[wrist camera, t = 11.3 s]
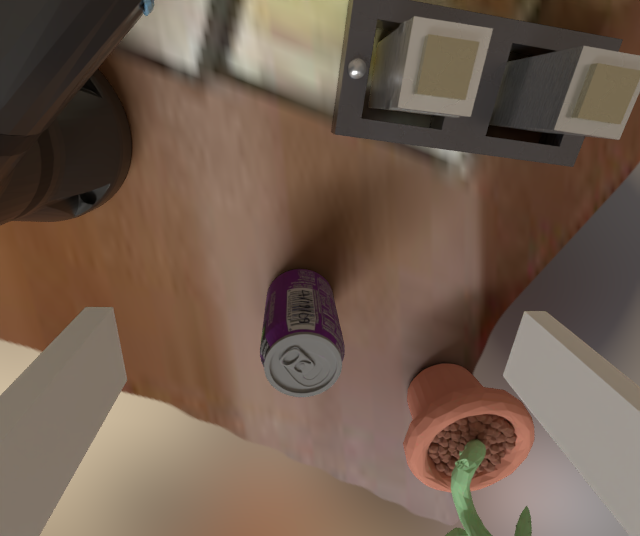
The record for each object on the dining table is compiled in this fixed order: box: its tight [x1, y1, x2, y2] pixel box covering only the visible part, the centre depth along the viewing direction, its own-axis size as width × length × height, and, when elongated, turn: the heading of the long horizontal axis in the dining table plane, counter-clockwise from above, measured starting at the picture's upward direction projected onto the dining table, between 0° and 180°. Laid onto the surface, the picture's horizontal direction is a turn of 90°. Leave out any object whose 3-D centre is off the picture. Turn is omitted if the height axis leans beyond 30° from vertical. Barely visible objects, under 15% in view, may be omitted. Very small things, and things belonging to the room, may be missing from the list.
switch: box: [331, 0, 640, 167], centre depth 28 cm, size 22×10×11 cm, turn 83°
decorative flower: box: [403, 363, 534, 536], centre depth 33 cm, size 15×14×30 cm
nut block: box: [368, 16, 493, 118], centre depth 27 cm, size 5×5×11 cm
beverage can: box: [260, 269, 345, 397], centre depth 34 cm, size 7×7×12 cm
